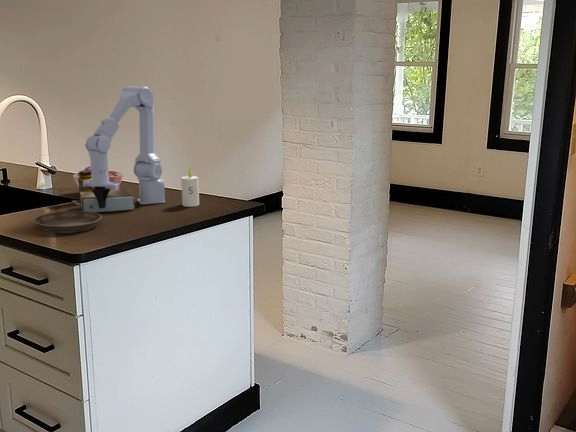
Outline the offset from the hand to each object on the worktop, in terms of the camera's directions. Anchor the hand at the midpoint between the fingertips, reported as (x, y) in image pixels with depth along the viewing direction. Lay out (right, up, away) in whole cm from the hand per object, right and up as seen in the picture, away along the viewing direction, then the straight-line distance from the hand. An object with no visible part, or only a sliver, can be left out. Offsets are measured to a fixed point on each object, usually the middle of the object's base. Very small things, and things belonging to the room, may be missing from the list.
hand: (102, 207), depth 215 cm
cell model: (-11, +6, +34) cm, 36 cm away
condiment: (-12, +2, +19) cm, 23 cm away
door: (+2, -1, +3) cm, 4 cm away
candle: (+29, +1, +16) cm, 33 cm away
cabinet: (-1, 0, +9) cm, 9 cm away
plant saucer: (-6, -7, -16) cm, 18 cm away
